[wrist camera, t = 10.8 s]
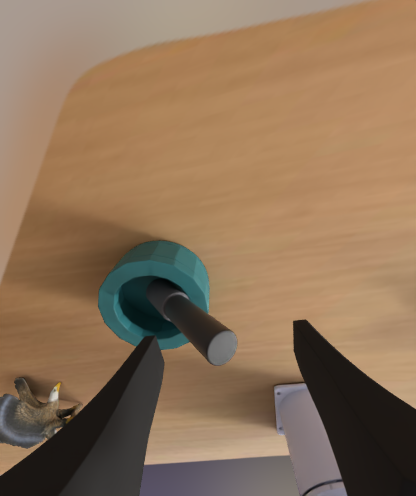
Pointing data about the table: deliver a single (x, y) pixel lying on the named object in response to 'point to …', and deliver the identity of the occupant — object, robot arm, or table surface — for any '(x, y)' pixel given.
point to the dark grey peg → (193, 322)
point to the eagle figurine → (31, 416)
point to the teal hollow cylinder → (134, 291)
